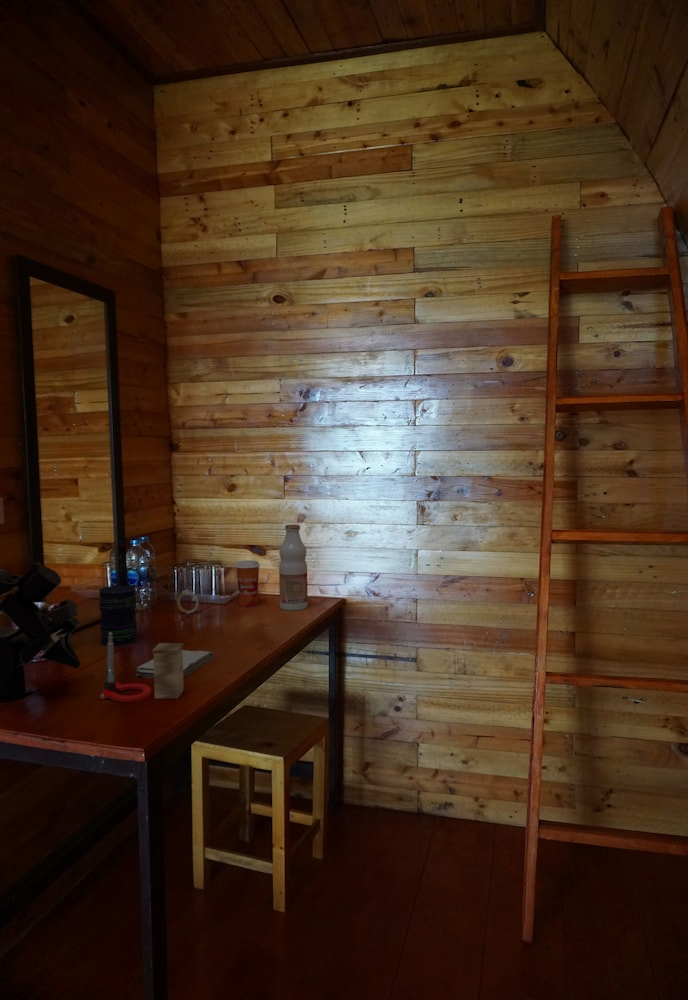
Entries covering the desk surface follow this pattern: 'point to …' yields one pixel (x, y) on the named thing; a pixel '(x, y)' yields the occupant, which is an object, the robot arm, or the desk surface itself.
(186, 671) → the washcloth
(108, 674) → the tow hook
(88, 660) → the desk surface
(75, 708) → the desk surface
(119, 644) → the storage jar
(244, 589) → the coffee cup
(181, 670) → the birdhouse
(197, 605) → the ring
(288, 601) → the fruit juice
